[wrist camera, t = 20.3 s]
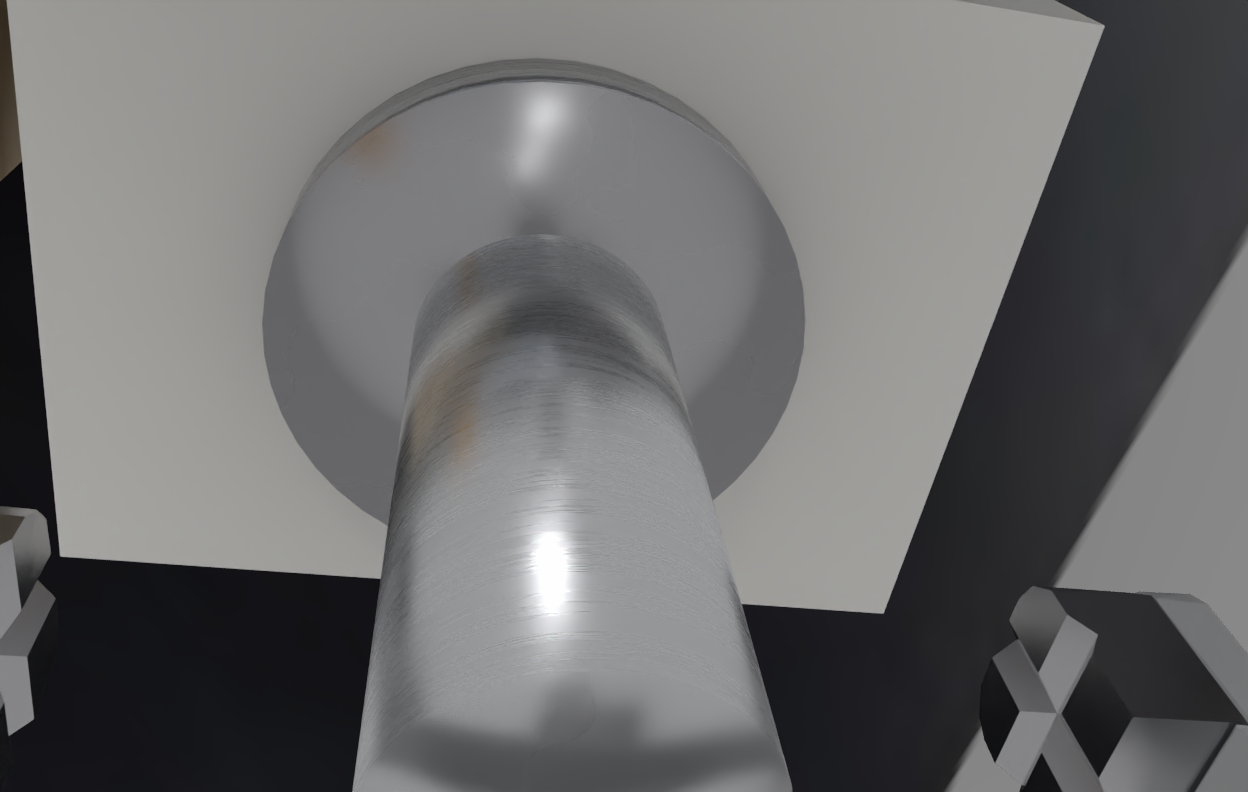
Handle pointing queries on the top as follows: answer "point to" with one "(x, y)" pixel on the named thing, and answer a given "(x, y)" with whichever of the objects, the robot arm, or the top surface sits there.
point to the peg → (543, 424)
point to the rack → (479, 33)
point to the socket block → (7, 101)
